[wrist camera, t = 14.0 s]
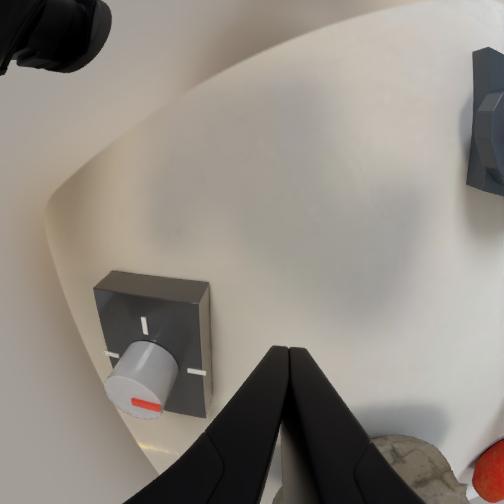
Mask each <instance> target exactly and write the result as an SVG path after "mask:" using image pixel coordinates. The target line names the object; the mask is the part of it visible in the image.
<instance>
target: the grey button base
mask: <svg viewBox="0 0 504 504" xmlns="http://www.w3.org/2000/svg"><path fill="white" fill-rule="evenodd" d="M473 70H474V110H473V129H472V142H471V153H470V162H469V170H468V177H467V185H469V186H472V187H474V188H477V189H479V190H482V191H485V192H489V193H493V194H497V195H500V196H504V55H503V54H502V53H500V52H498V51H496V50H494V49H492V48H490V47H487V48H483V49H480V50H477V51H474V52H473Z"/></svg>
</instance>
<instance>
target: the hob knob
mask: <svg viewBox="0 0 504 504" xmlns="http://www.w3.org/2000/svg"><path fill="white" fill-rule="evenodd" d="M178 373H179V369H178V365H177V362H176V361H175V359H174V358H173V356H172V355H171V354H170V353H169V352H168V351H166V350H165V349H164V348H162V347H160V346H159V345H157V344H154V343H151V342H147V341H137V342H134V343H132V344H130V345H129V346H128V348H127V349H126V351H125V352H124V354H123V355H122V357H121V358H120V360H119V361H118V363H117V364H116V366H115V367H114V369H113V370H112V372H111V373H110V375H109V376H108V378H107V380H106V381H105V384H104V388H105V392H106V394H107V396H108V398H109V399H110V400H111V401H112V402H113V403H114V404H115V405H116V406H117V407H118V408H119V409H121V410H122V411H124V412H125V413H127V414H129V415H131V416H134V417H137V418H140V419H148V420H149V419H155V418H158V417H159V416H160V415H161V414H162V412H163V410H164V407H165V405H166V403H167V400H168V398H169V395H170V393H171V391H172V388H173V386H174V384H175V381H176V379H177V376H178Z"/></svg>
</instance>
